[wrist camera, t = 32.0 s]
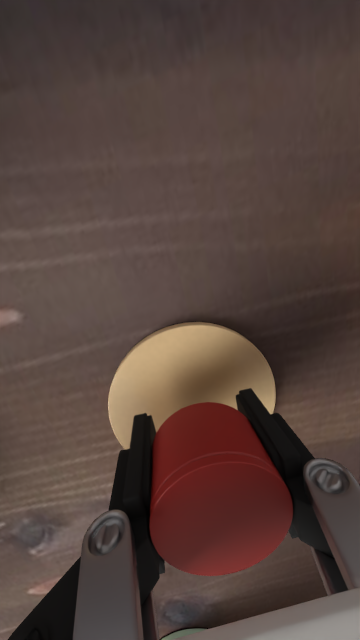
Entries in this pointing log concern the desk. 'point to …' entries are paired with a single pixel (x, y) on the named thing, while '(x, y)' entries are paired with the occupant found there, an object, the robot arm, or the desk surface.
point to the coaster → (186, 374)
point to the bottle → (182, 633)
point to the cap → (215, 492)
